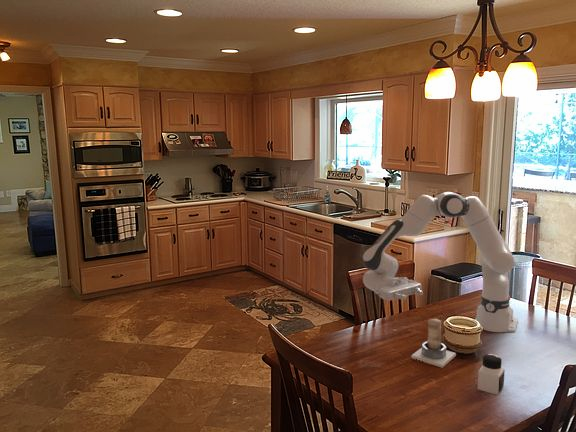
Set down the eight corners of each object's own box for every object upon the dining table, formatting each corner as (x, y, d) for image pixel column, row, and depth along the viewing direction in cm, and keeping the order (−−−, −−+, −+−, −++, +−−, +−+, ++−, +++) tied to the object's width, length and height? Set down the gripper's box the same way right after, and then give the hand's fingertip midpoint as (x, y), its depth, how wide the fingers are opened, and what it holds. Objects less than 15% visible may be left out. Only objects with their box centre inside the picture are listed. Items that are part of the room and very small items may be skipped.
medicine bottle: (498, 395, 165) (500, 363, 163) (477, 389, 169) (478, 357, 167) (503, 386, 171) (505, 355, 169) (483, 381, 175) (484, 350, 173)
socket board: (425, 347, 204) (426, 336, 203) (455, 355, 195) (456, 344, 194) (411, 358, 194) (411, 346, 193) (442, 367, 185) (442, 356, 185)
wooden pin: (430, 350, 198) (431, 317, 196) (442, 353, 195) (443, 320, 193) (425, 354, 194) (426, 321, 192) (437, 357, 191) (438, 324, 189)
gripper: (372, 284, 207) (394, 293, 195) (407, 276, 217) (430, 283, 205) (372, 298, 208) (394, 307, 196) (407, 289, 218) (430, 297, 206)
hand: (413, 295), depth 201 cm, fingers open, 8 cm apart
